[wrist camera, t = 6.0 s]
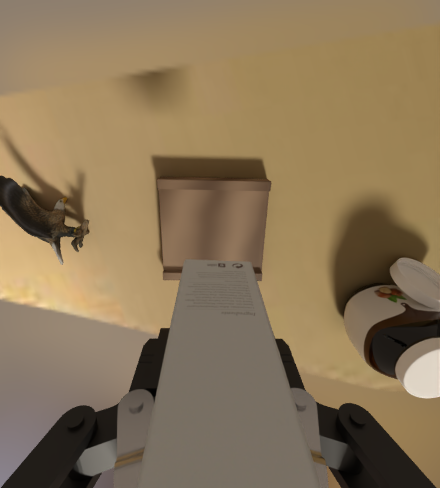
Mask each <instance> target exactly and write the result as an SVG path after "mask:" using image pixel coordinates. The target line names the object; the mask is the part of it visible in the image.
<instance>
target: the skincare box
mask: <svg viewBox="0 0 440 488" xmlns="http://www.w3.org/2000/svg"><path fill="white" fill-rule="evenodd" d="M137 488H321V486H320V482H319V479H318V475H317V471H316V468H315V465H314V461H313V458H312V455H311V451H310V448H309V445H308V442H307V438H306V435H305V432H304V429H303V426H302V423H301V420H300V417H299V414H298V411H297V408H296V404H295V401H294V398H293V395H292V392H291V389H290V386H289V382H288V379H287V376H286V373H285V369H284V366H283V363H282V360H281V356H280V353H279V350H278V347H277V344H276V341H275V338H274V334H273V331H272V328H271V325H270V322H269V319H268V315H267V312H266V309H265V305H264V302H263V299H262V295H261V292H260V289H259V286H258V283H257V280H256V276H255V273H254V270H253V267H252V264H251V262H244V261H217V260H194V259H186V260H185V261H184V264H183V269H182V273H181V278H180V283H179V288H178V293H177V297H176V302H175V307H174V311H173V316H172V320H171V325H170V330H169V335H168V340H167V345H166V349H165V354H164V359H163V364H162V368H161V373H160V378H159V383H158V388H157V392H156V397H155V402H154V407H153V411H152V416H151V420H150V425H149V430H148V435H147V439H146V444H145V449H144V454H143V459H142V464H141V468H140V473H139V478H138V483H137Z"/></svg>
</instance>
